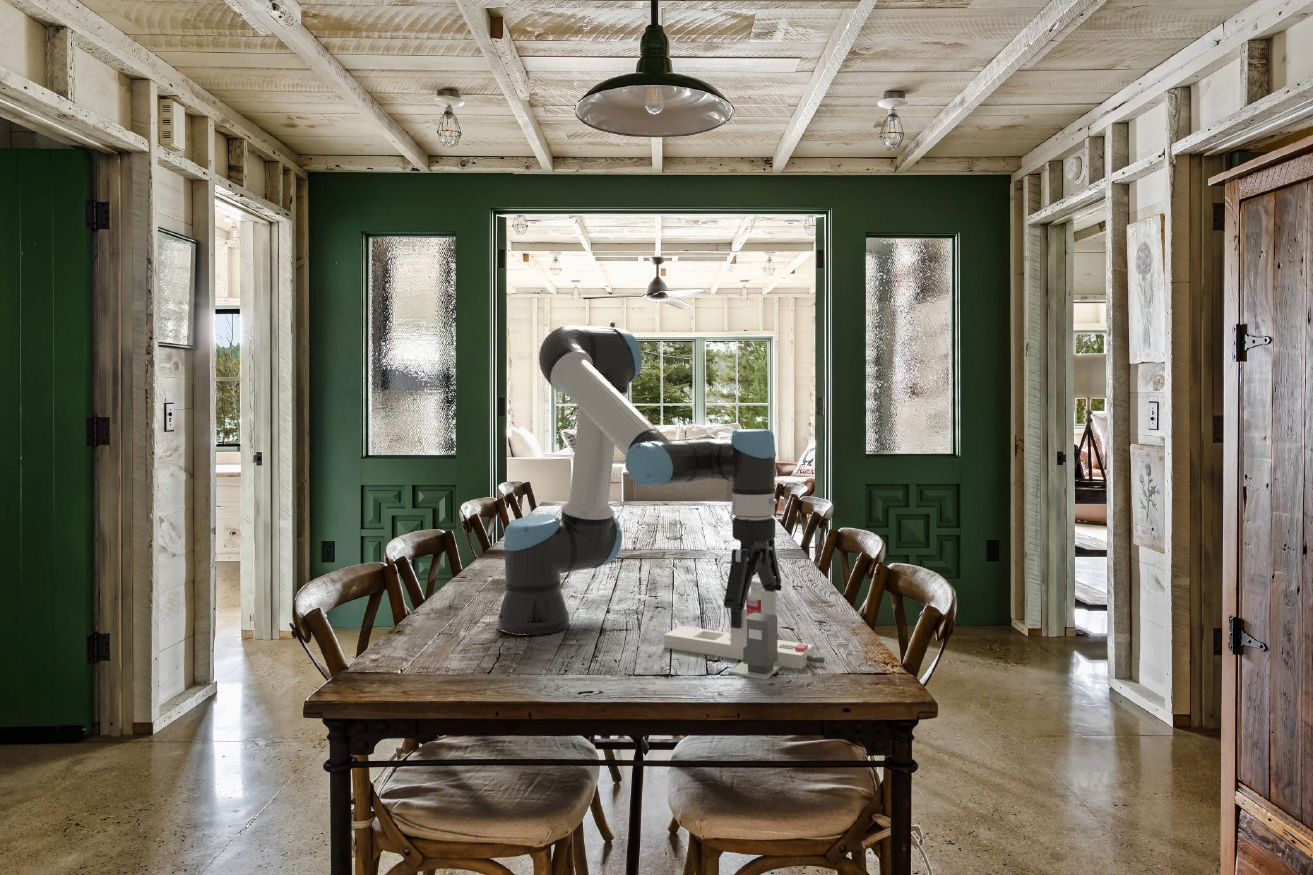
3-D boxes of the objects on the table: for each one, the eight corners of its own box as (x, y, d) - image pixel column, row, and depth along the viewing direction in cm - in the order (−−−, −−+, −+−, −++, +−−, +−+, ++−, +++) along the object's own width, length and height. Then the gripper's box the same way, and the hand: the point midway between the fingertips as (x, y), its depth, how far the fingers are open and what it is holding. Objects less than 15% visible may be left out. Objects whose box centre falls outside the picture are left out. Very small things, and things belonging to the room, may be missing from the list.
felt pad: (728, 673, 144) (728, 671, 144) (744, 662, 150) (744, 659, 150) (765, 679, 141) (765, 677, 141) (780, 667, 147) (780, 665, 147)
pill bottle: (742, 635, 168) (742, 581, 167) (751, 627, 173) (751, 575, 173) (771, 638, 165) (771, 584, 164) (780, 630, 171) (779, 577, 170)
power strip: (664, 647, 160) (663, 631, 160) (680, 637, 166) (680, 622, 166) (817, 671, 144) (817, 654, 144) (829, 660, 151) (829, 643, 150)
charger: (743, 672, 144) (742, 618, 143) (753, 664, 148) (753, 612, 147) (767, 676, 141) (767, 621, 141) (777, 668, 146) (777, 615, 145)
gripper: (744, 528, 132) (745, 658, 133) (798, 509, 153) (798, 620, 154) (703, 525, 135) (704, 651, 136) (761, 506, 157) (761, 616, 158)
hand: (754, 635), depth 145 cm, fingers open, 13 cm apart
